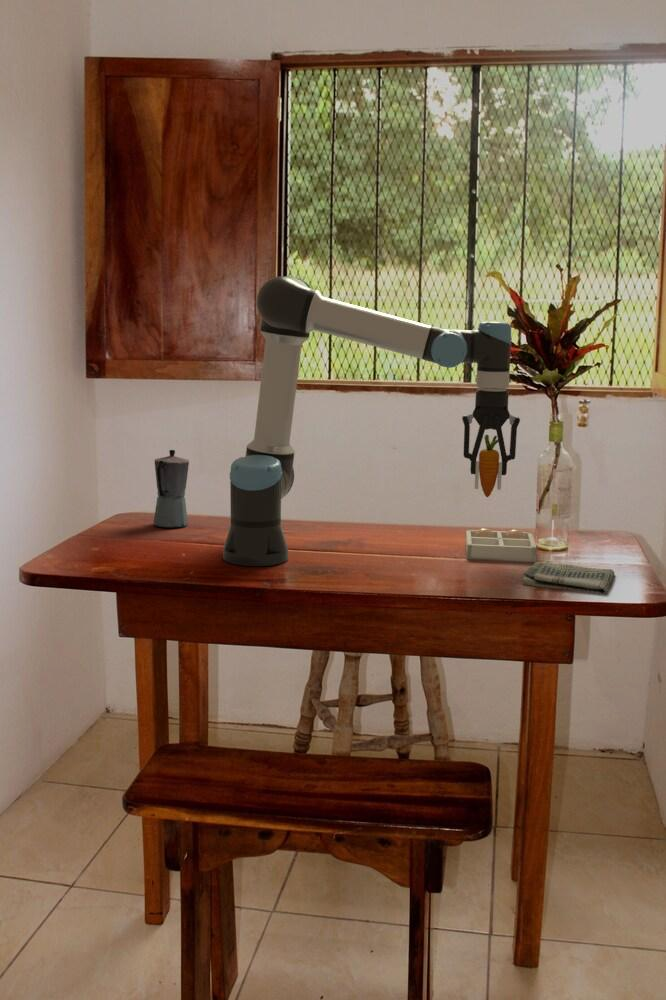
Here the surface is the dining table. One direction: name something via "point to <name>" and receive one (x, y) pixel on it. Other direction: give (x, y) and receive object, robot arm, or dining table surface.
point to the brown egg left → (484, 533)
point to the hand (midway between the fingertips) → (487, 488)
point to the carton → (500, 547)
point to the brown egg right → (515, 534)
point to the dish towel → (569, 577)
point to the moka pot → (171, 491)
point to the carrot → (488, 466)
